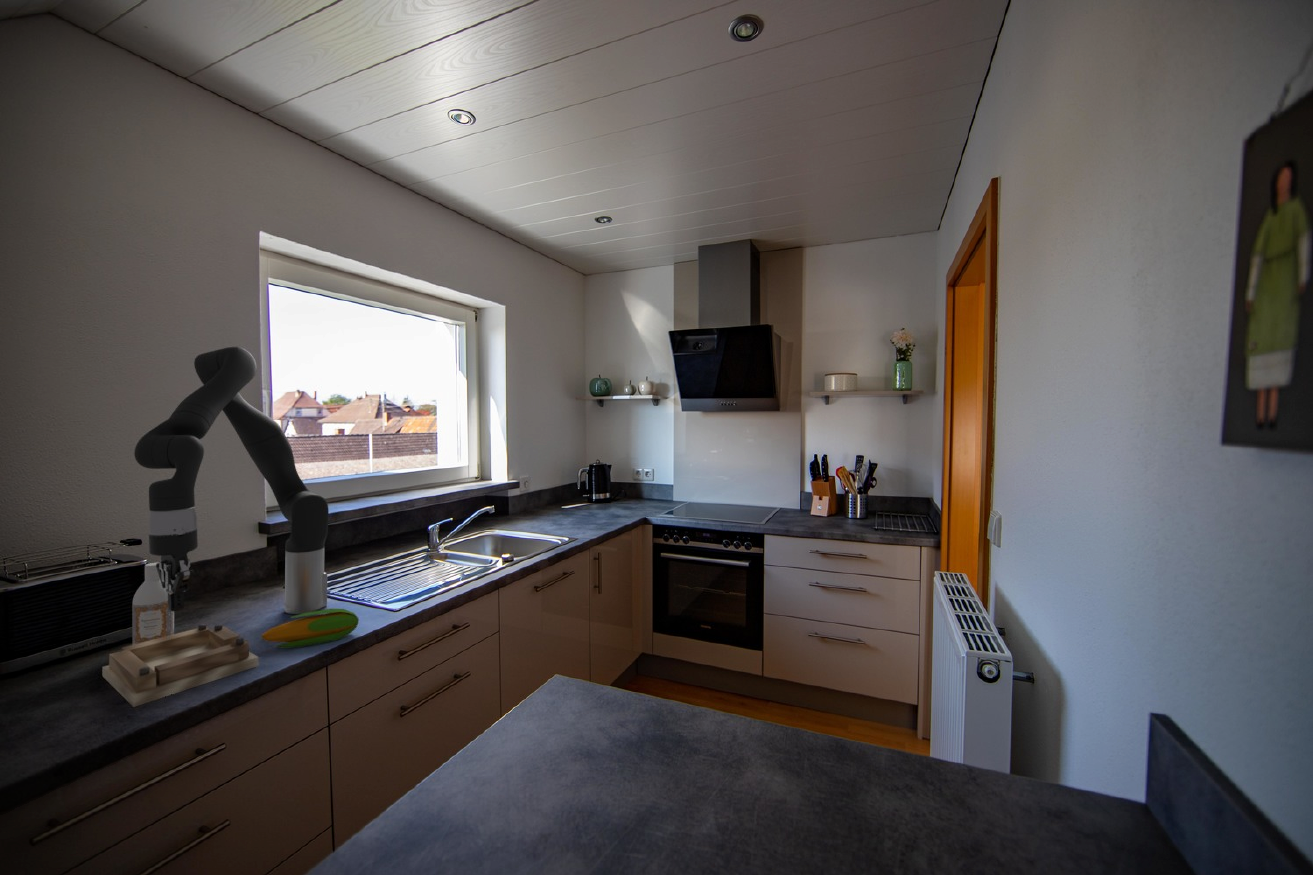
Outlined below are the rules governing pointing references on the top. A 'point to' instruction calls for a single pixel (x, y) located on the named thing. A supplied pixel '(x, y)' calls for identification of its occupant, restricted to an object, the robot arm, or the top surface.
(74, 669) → the top surface
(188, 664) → the brown rectangular block
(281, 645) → the corn
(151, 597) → the bath foam
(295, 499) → the robot arm
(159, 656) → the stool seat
